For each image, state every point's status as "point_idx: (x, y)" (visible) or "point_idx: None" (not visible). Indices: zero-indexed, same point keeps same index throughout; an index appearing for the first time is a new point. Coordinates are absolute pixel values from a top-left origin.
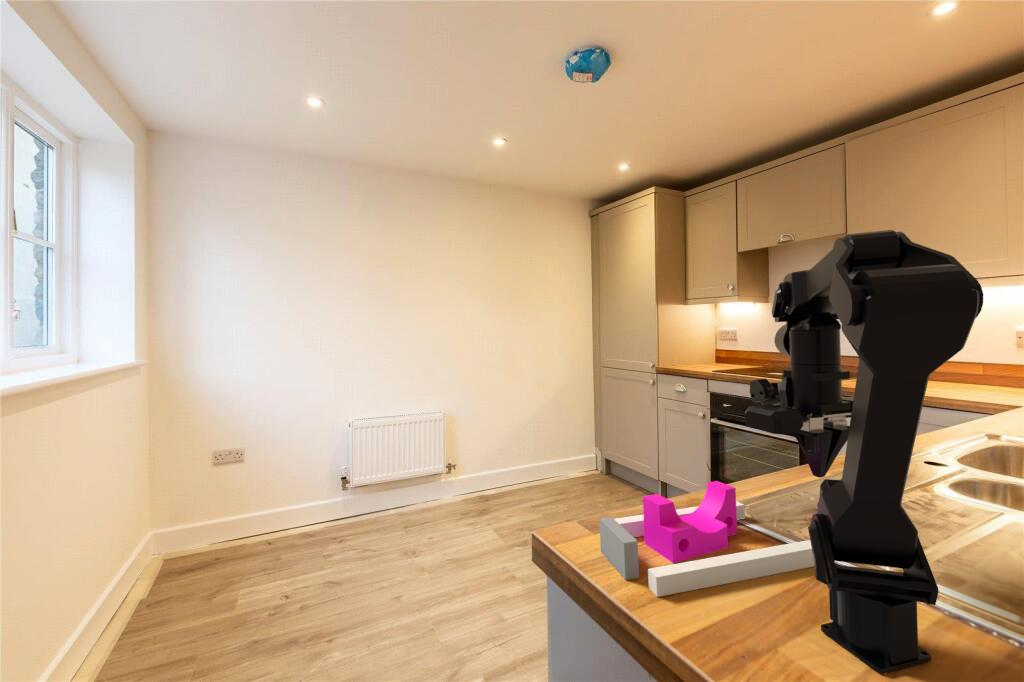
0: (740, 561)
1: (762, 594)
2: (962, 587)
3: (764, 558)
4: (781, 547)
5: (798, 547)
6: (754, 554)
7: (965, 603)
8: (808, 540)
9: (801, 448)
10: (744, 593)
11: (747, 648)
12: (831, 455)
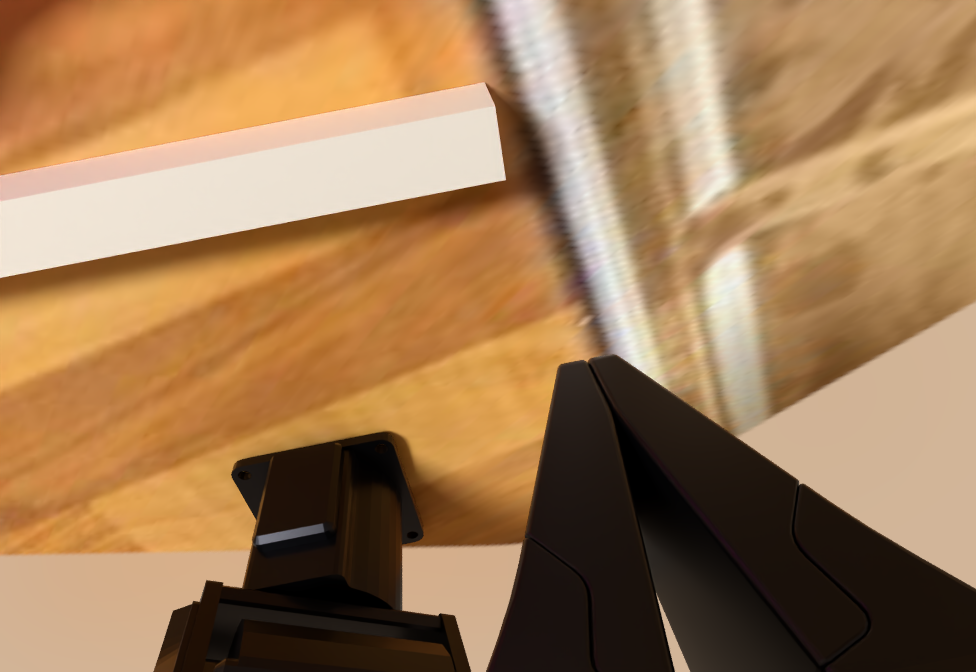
0: (24, 271)
1: (127, 315)
2: (797, 318)
3: (157, 246)
4: (285, 169)
5: (371, 178)
6: (115, 217)
7: (712, 380)
8: (471, 111)
9: (516, 577)
10: (58, 306)
11: (9, 502)
12: (687, 664)
